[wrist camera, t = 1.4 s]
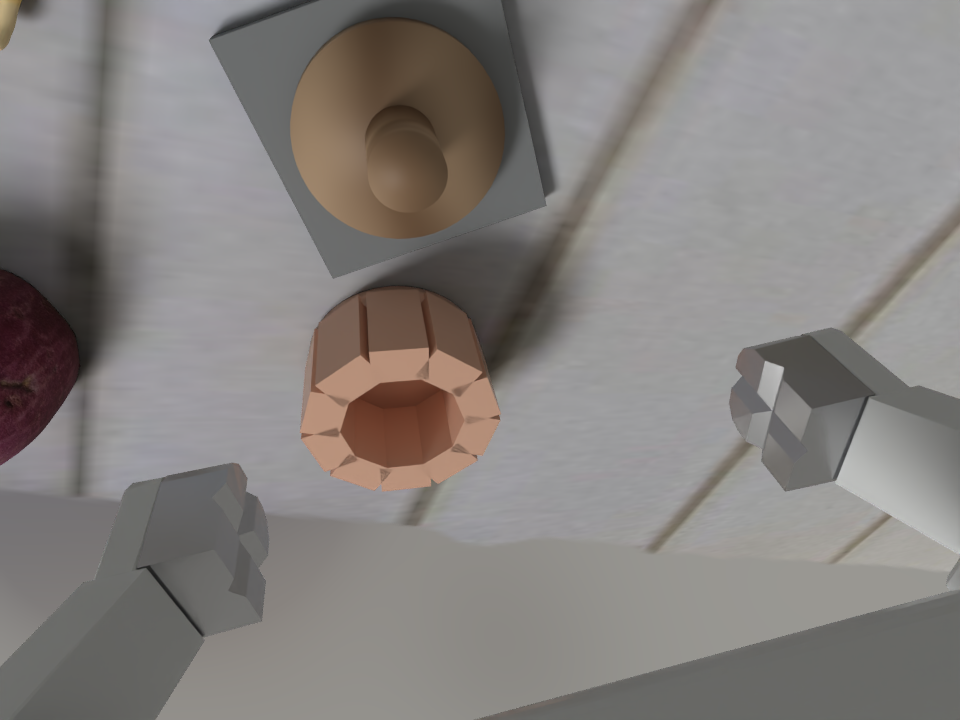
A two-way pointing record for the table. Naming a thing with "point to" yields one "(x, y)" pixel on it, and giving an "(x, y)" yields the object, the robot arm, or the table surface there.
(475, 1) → the mat
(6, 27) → the toy flower bud
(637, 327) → the table surface
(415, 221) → the lid
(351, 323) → the faceted hollow tube
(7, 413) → the vegetable
